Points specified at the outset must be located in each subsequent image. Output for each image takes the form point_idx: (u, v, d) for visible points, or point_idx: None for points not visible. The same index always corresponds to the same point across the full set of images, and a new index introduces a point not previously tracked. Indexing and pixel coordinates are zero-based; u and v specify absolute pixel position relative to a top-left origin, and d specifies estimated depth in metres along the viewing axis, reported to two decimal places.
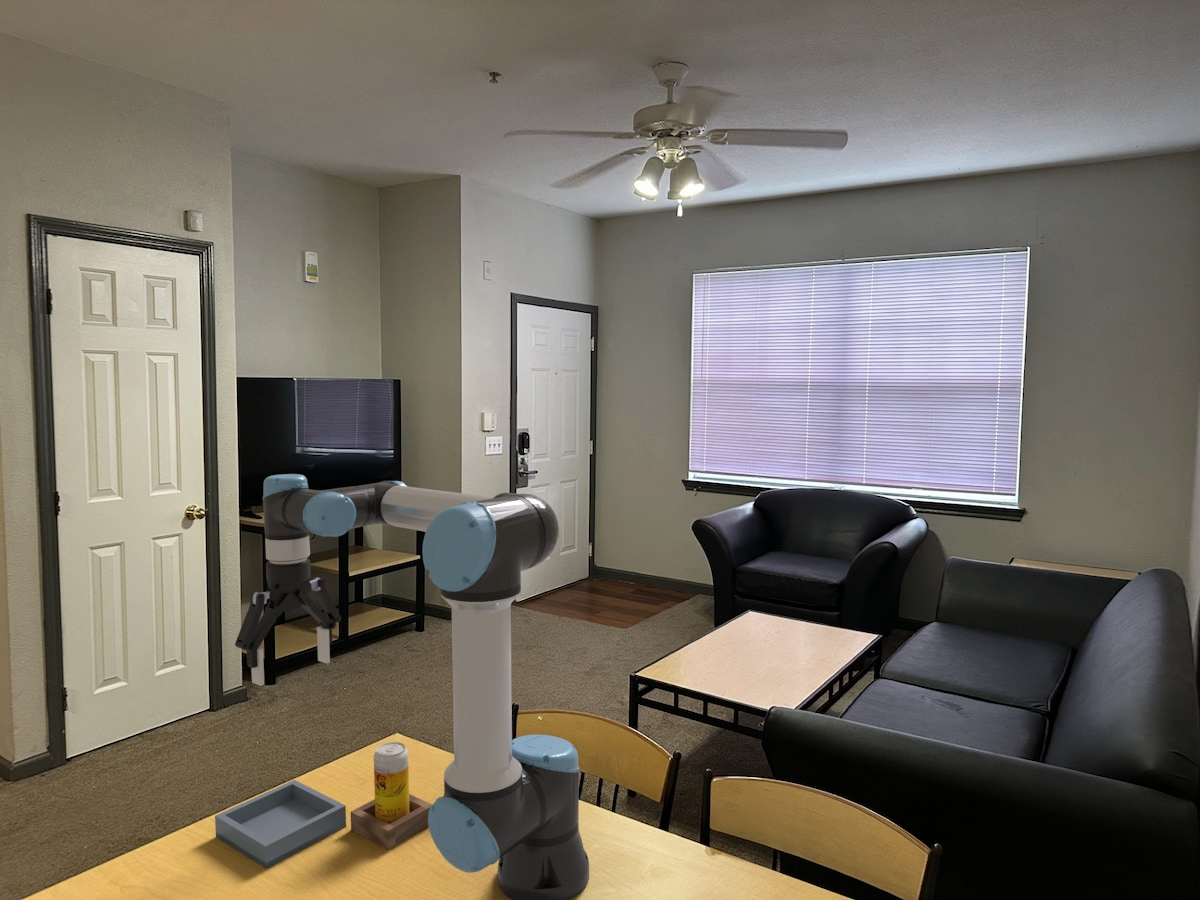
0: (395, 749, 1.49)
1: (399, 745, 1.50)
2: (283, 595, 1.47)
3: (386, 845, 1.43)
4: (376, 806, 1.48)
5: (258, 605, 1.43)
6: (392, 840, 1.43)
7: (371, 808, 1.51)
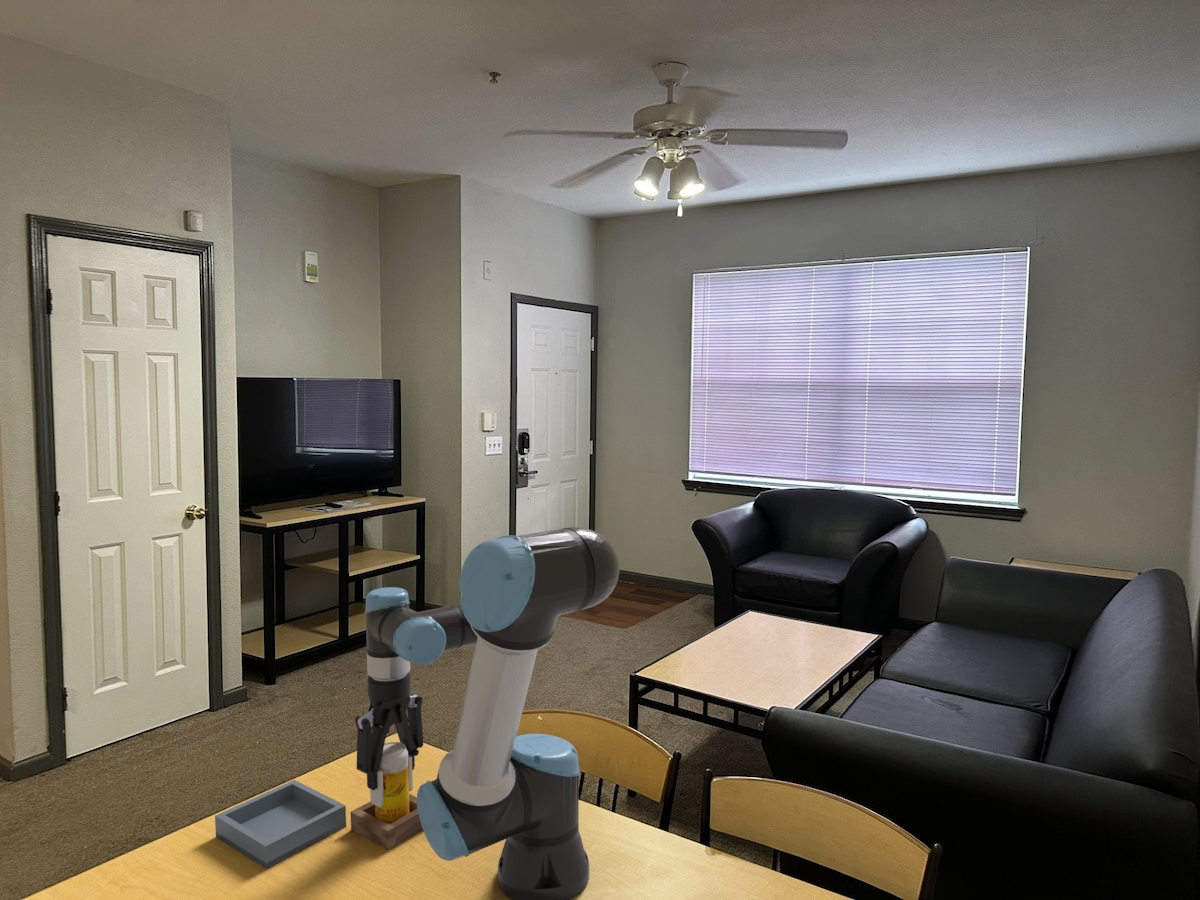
0: (395, 749, 1.49)
1: (399, 745, 1.50)
2: (385, 713, 1.45)
3: (386, 845, 1.43)
4: (376, 806, 1.48)
5: (366, 731, 1.42)
6: (392, 840, 1.43)
7: (371, 808, 1.51)
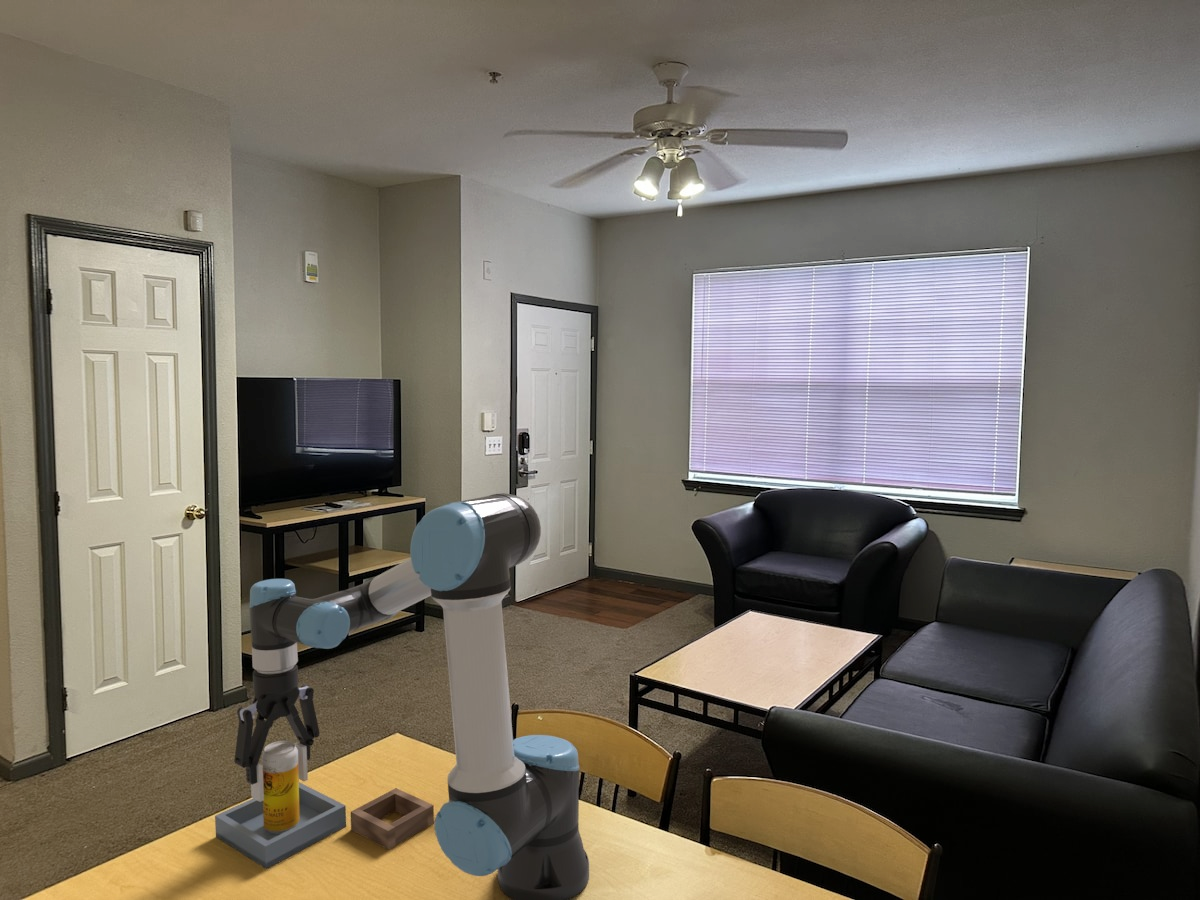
0: (284, 748, 1.47)
1: (289, 744, 1.48)
2: (270, 706, 1.44)
3: (386, 845, 1.43)
4: (263, 805, 1.46)
5: (247, 722, 1.40)
6: (392, 840, 1.43)
7: (371, 808, 1.51)
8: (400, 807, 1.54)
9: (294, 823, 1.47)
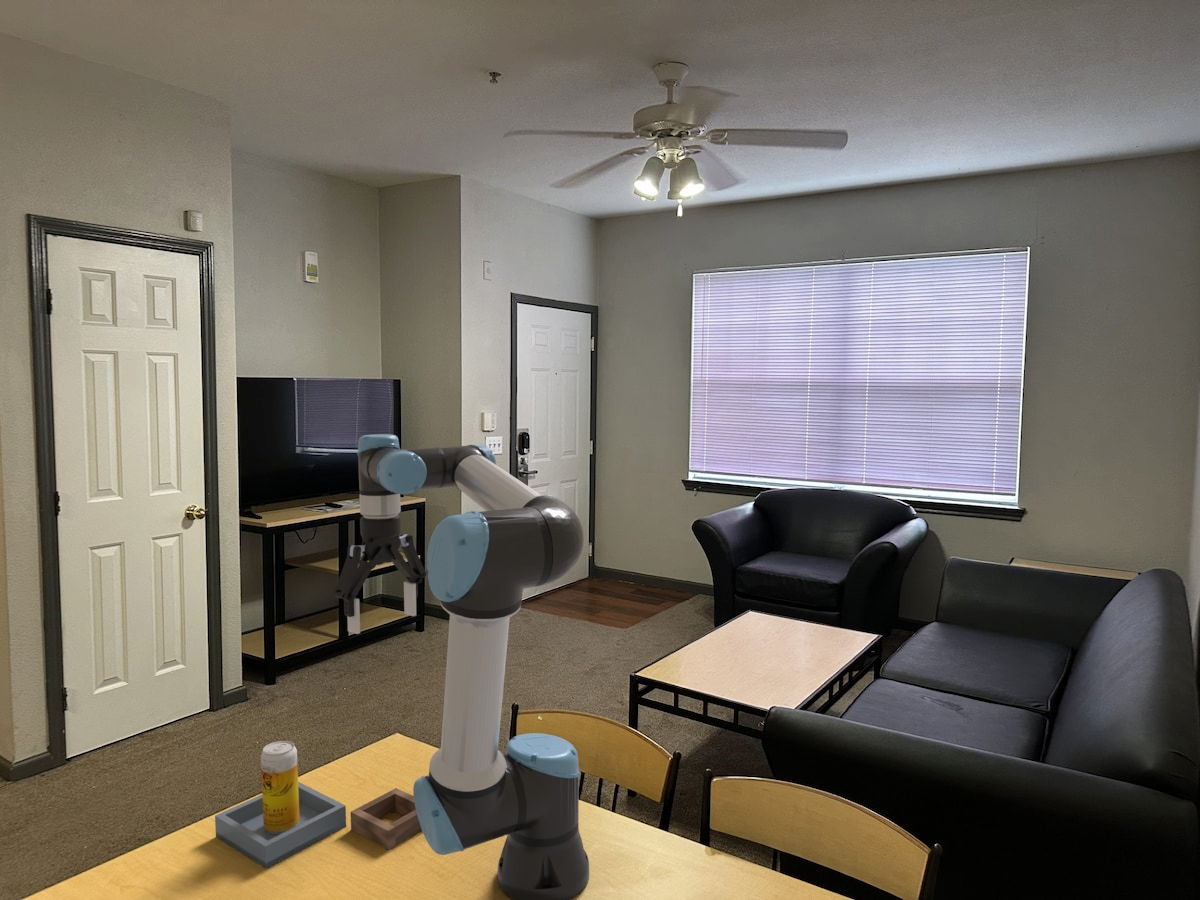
0: (283, 748, 1.47)
1: (288, 744, 1.48)
2: (377, 549, 1.54)
3: (386, 845, 1.43)
4: (263, 806, 1.46)
5: (355, 557, 1.50)
6: (392, 840, 1.43)
7: (371, 808, 1.51)
8: (400, 807, 1.54)
9: (294, 823, 1.47)
